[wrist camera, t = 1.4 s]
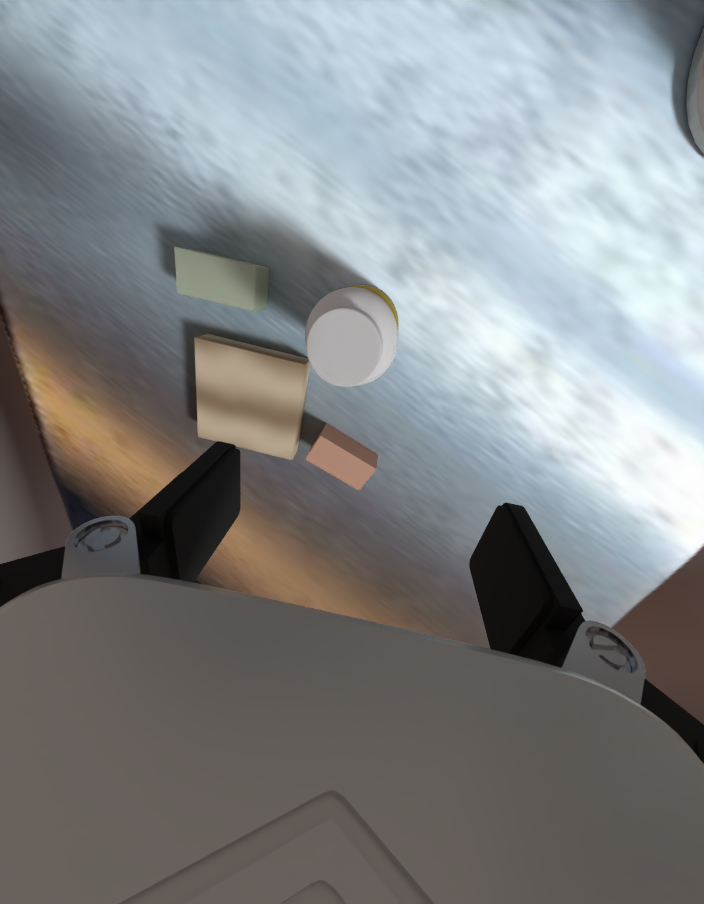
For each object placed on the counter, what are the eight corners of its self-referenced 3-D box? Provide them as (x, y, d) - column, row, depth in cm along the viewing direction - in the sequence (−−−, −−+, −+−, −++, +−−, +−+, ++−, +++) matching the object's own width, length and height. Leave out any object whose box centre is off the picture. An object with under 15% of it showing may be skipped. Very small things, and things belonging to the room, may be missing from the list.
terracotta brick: (312, 444, 38) (305, 459, 34) (326, 422, 36) (320, 435, 33) (361, 474, 39) (359, 490, 36) (377, 453, 37) (376, 469, 34)
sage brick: (198, 291, 31) (177, 292, 28) (197, 250, 29) (174, 246, 26) (267, 308, 31) (253, 311, 28) (270, 267, 29) (255, 266, 26)
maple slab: (207, 333, 32) (194, 337, 30) (311, 359, 32) (304, 364, 30) (209, 427, 38) (198, 436, 36) (297, 449, 38) (291, 460, 36)
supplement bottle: (350, 269, 28) (321, 261, 17) (412, 310, 29) (422, 328, 18) (317, 336, 31) (273, 367, 20) (373, 371, 32) (362, 419, 21)
